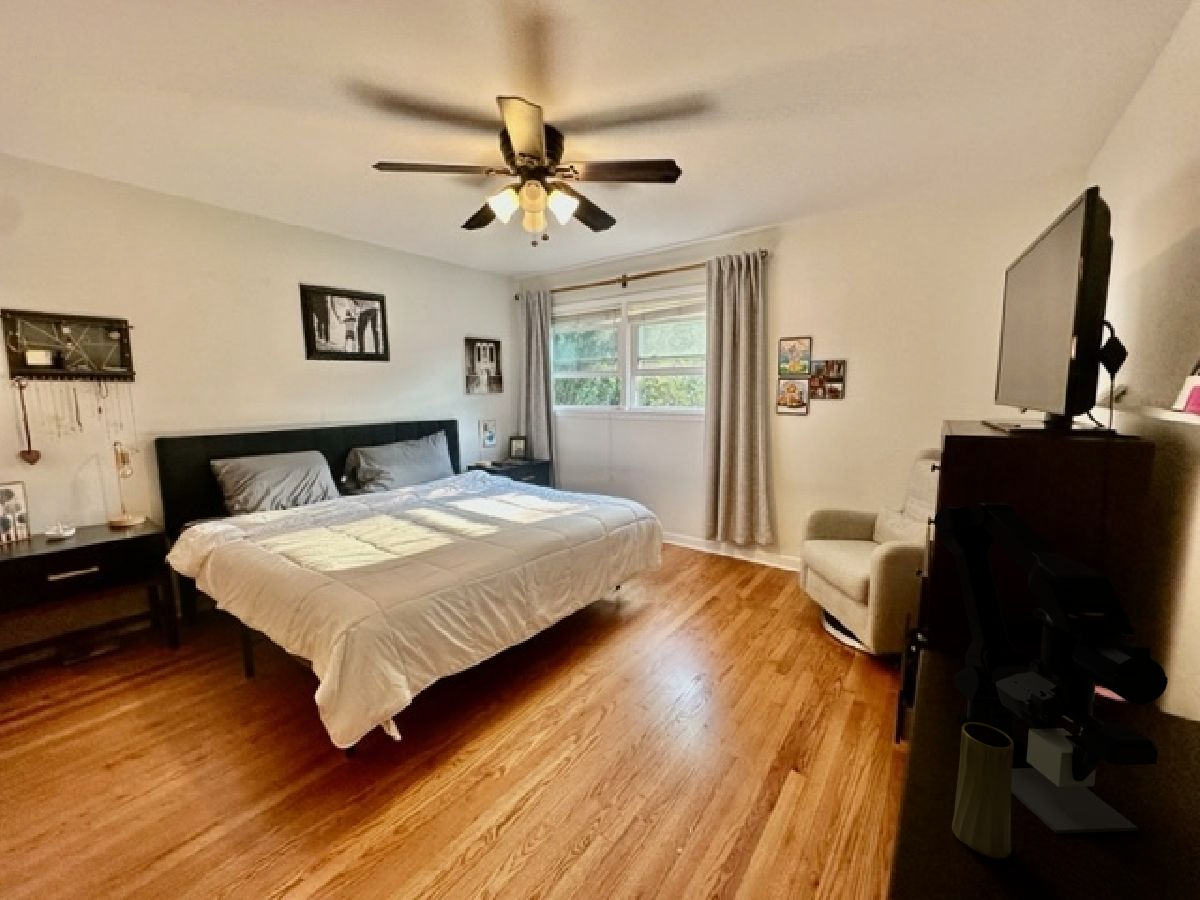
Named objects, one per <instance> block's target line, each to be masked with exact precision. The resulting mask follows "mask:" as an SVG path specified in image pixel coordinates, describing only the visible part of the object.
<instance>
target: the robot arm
mask: <svg viewBox="0 0 1200 900" xmlns="http://www.w3.org/2000/svg"><path fill="white" fill-rule="evenodd" d="M933 519H934V520H933V523H934V527H935V529H936V530H937V533H938V536H939V540H940V542H941V544H942V545H943V546H944V547H945V548H946V549H947V550H948V551H949V552H950V553H951V554H952V556H953V557H954V560H955V566H956V571H957V574H958V579H959V583H960V588H961V593H962V598H963V601H964V602H963V603H964V607H965V611H966V616H967V620H968V625H969V629H970V634H971V641H970V644H969V646H968V649H967V651H966V652H965V655H964V660H965V667H964V668H963V669H961V670H959V671H958V672H957V673H955V674H953V679H954V687H955V689H956V690H957V691H959V693H960V694H961V695H962V696H964V697H965V702H964V703H965V707H964V715H962V716H960V715H959V716H956V717H955V719H956V721H957V722H958V723H960V725H962V726H963V725H964V724H965V723H969V722H975V723H982V724H986V725H989V726H992V727H994V728H997V729H999V730H1001V731H1002V732H1004V733H1006V734H1007V735H1008V736H1009V737H1010V738H1011V739H1012V740H1013V743H1021V738H1020V737H1019V735H1016V734H1015V732H1014V727H1015V725H1014V723H1015V717H1014V714H1015V715H1016V716H1017V717H1018V718H1019V719H1021V720H1024V721H1025V722H1026V721H1027V724H1028V726H1029V729H1047V728H1057V725H1058V722H1059V719H1060V718H1061V717H1063V718H1064V719H1066V720H1067V721H1068V722H1070V723H1072V724H1075V725H1076V726H1078V727H1080V731H1079V732H1078V734H1077V735H1076V734H1075V735H1074V734H1072V735H1067V736H1065V738H1066V739H1067V740H1068V741H1069V742H1070V743H1071V744H1072V745H1073V759H1072V773H1073V779H1074V780H1075V781H1084V780H1085V779H1086V778H1087V777H1088V776H1089V775H1090V774H1091V773H1092V772H1093V771H1094V770H1095V769H1096V770H1097V768H1098V767H1099V766H1100V765H1101V764H1102V763H1103V762H1104V761H1105V763H1109V764H1111V765H1114V766H1137V765H1138V766H1139V765H1142V766H1143V765H1144V766H1145V765H1157V763H1158V752H1159V751H1158V746H1157V745H1156V744H1155V743H1154V742H1153V741H1152V740H1151V739H1149V738H1148V737H1146V736H1145V735H1143V734H1141V733H1140V732H1138V731H1136V730H1134V729H1133V728H1131V727H1129V726H1128V725H1126V724H1125V723H1122V722H1111V723H1110V722H1109V723H1108V722H1107V723H1105V722H1102V721H1100V720H1098V719H1097V718H1095V717H1093V714H1095V713H1096V714H1097V713H1098V714H1100V713H1102V714H1103V707H1104V705H1103V704H1100V703H1099V702H1097V701H1096V700H1095V697H1096V696H1095V694H1096V687H1097V686H1096V684H1097V685H1100V686H1102V687H1104V688H1106V689H1107V690H1109V691H1110V692H1112V693H1114V694H1115V695H1117V696H1118V697H1120V698H1122V699H1123V700H1125V701H1126V702H1129V703H1133V704H1135V705H1136V704H1137V705H1143V704H1149V703H1151V702H1154V701H1155V700H1157V699H1158V698H1160V697H1161V696H1162V695H1163V694H1164V692H1165V691H1166V689H1167V686H1168V682H1169V681H1168V676H1167V675H1166V673H1165V670H1164V668H1163V667H1162V665H1161V664H1160V663H1159V662H1158V661H1156V660H1155V659H1152V658H1151V648H1150V647H1148V646H1146V645H1144V644H1142V643H1140V642H1135V641H1132V640H1131V639H1128V638H1127V637H1124V636H1134V635H1135V631H1134V629H1133V626H1132V625H1131V623H1130V622H1131V619H1130V617H1129V616H1128V614H1127V613H1126V611H1125V610H1124V608H1123V606H1122V604H1121V602H1120V600H1119V598H1118V596H1117V593H1116V591H1115V589H1114V587H1113V585H1112V583H1111V582H1110V581H1109V580H1108V579H1107V578H1106V577H1105V576H1104V575H1102V574H1101V573H1099V572H1098V571H1096V570H1095V569H1093V568H1091V567H1090V566H1088V565H1087V564H1085V563H1083V562H1080V561H1078V560H1074V559H1072V558H1068V557H1066V556H1064V555H1063V554H1061V553H1060V552H1059V551H1057V550H1056V549H1055V548H1054V547H1053V546H1052V545H1051V544H1050V543H1049V542H1047V541H1046V539H1044V538H1043V537H1042V536H1041V535H1040V534H1038V532H1036V531H1035V530H1034V528H1032V527H1031V526H1030V525H1029V524H1028V523H1027V522H1026V521H1024V520H1023V519H1022V518H1021V517H1020V516H1019V515H1018V514H1017V513H1016V511H1015V508H1014V507H1013V506H1012V505H1011V504H1007V503H1006V502H1005V503H1004V502H978V503H977V504H972V505H968V506H944V507H942V508H941V509H940V510H939V512H937V513H936V514H935V516H934V518H933ZM994 541H995V542H996V543H998V544H999V545H1000V547H1001V549H1003V550H1005V552H1006V553H1007V554H1008V555H1009V556H1010V557H1011V558H1012V559H1013V561H1015V563H1017V564H1018V566H1020V567H1021V569H1022V570H1023V571H1024V572H1025V573H1026V575H1027V577H1028V578H1027V587H1028V589H1029V590H1030V592H1031V593H1032V594H1033V596H1034V598H1035V599H1036V600H1037V602H1038V603H1039V605H1041V607H1038V608H1035V609H1033V610H1032V613H1031V614H1033V616H1035V617H1037V618H1039V619H1041V620H1042V621H1043V623H1042V635H1041V649H1040V658H1037V659H1036V658H1032V659H1031V662H1029V660H1030V659H1029V657H1028V655H1027V653H1026V652H1025V651H1024V650H1023V651H1022V650H1018V649H1017V648H1016V647H1015V646H1014V645H1013V644H1012V643H1011V641H1010V640H1009V638H1008V634H1007V630H1006V626H1005V620H1004V617H1003V613H1002V608H1001V604H1000V601H999V597H998V593H997V588H996V584H995V580H994V576H993V571H992V567H991V563H990V559H989V554H988V553H989V552H990V549H991V547H992V545H993V543H994ZM1076 615H1077V616H1078V615H1079V616H1104V617H1105V618H1087V617H1086V618H1085V617H1082V618H1081V617H1077V616H1076Z"/></svg>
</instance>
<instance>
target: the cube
mask: <svg viewBox="0 0 1200 900" xmlns="http://www.w3.org/2000/svg"><path fill="white" fill-rule="evenodd" d="M1067 735H1073V734H1072V733H1070V732H1069V731H1067V730H1066V729H1065V728H1063V727H1060V728H1059V727H1056V728H1047V729H1030V728H1029V729H1028V736H1027V737H1028V738H1027V750H1026V752H1027V753H1026V762H1027V763H1028V764H1029V765H1031V766H1032V768H1036V769H1037V770H1038V771H1039V772H1041V773H1042V774H1043V775H1044V776H1045V777H1047V778H1048V779H1049V780H1050V781H1052V782H1053V783H1054V784H1055V785H1057V786H1058V787H1083V786H1084V787H1095V783H1096V782H1095V781H1096V771H1097V768H1096V769H1095V770H1094V771H1093V772H1092V773H1091V774H1090V775H1089V776H1088V777H1087V778H1086V779H1085V780H1084V781H1075V780H1074V779H1073V773H1072V759H1073V745H1072V744H1071V743H1070V742H1069V741H1068V740H1067V739H1066V738H1065V736H1067Z"/></svg>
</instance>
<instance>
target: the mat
mask: <svg viewBox="0 0 1200 900" xmlns="http://www.w3.org/2000/svg"><path fill="white" fill-rule="evenodd" d="M1012 793H1013V794H1014V795H1015V796H1016V797H1017V800H1018V801H1020V803H1022V804H1023V805H1024V806H1025V807H1026V808H1027V809H1028V810H1030V811H1031V812H1032V814H1034V815H1035V816H1037V818H1039V820H1041V822H1043V824H1045V825H1046V826H1047V827H1049V828H1050V830H1051V831H1052V832H1054V833H1055V834H1077V833H1078V834H1082V833H1083V834H1085V833H1112V832H1137V831H1138V830H1139V829H1138V828H1139V827H1138V826H1137V825H1136V824H1134V823H1133V822H1131V820H1129V819H1127V817H1125V816H1124V815H1122V814H1121V813H1119V812H1118V811H1117V810H1116V809H1114V808H1113V807H1112V806H1111V805H1110V804H1108V803H1107V802H1105V801H1104V800H1102V799H1101V798H1100V797H1099V796H1098V795H1096V794H1095V793H1093V792H1092V791H1091V790H1089V789H1088V787H1086V786H1083V787H1058V786H1057V785H1055V784H1054V783H1053V782H1052V781H1050V780H1049V779H1048V778H1047V777H1045V776H1044V775H1043V774H1042V773H1041V772H1039V771H1038V770H1037V769H1036V768H1034V767H1023V768H1012V785H1011V794H1012ZM1013 794H1012V795H1013ZM1014 795H1013V796H1014ZM1015 796H1014V797H1015ZM1016 797H1015V798H1016Z"/></svg>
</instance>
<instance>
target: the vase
mask: <svg viewBox="0 0 1200 900" xmlns="http://www.w3.org/2000/svg"><path fill="white" fill-rule="evenodd" d="M1014 745H1015V742H1013V740H1012V739H1011V738H1010V737H1009V736H1008V735H1007V734H1006V733H1004V732H1002V731H1001V730H999V729H997V728H994V727H992V726H989V725H986V724H982V723H975V722H969V723H965V724H964V725H962V726H961V739H960V751H959V763H958V766H959V767H958V774H957V783H956V791H955V802H954V810H953V811H954V812H953V819H952V823H951V829H952V833H953V834H955V835H954V836H955V838H956V839H957V838H958V839H959V840H960V841H962V842H963V843H965V844H967V845H968V846H970V847H971V848H973V849H976V850H978V851H980V852H982V853H984V854H986V855H990V856H993V857H994V856H995V857H998V858H999V857H1001V858H1002V857H1007V856H1008V855H1009V854H1010V853H1011V854H1012V844H1011V843H1012V842H1011V841H1012V840H1011V835H1012V833H1011V832H1012V831H1011V829H1012V827H1011V826H1012V812H1011V811H1012V808H1011V807H1012V806H1011V805H1012V793H1011V785H1012V769H1013V758H1014V748H1015V747H1014ZM958 839H957V840H958ZM959 840H958V841H959ZM960 841H959V842H960ZM1011 854H1010V855H1011ZM1010 855H1009V856H1010ZM1009 856H1008V857H1009ZM1008 857H1007V858H1008Z"/></svg>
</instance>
